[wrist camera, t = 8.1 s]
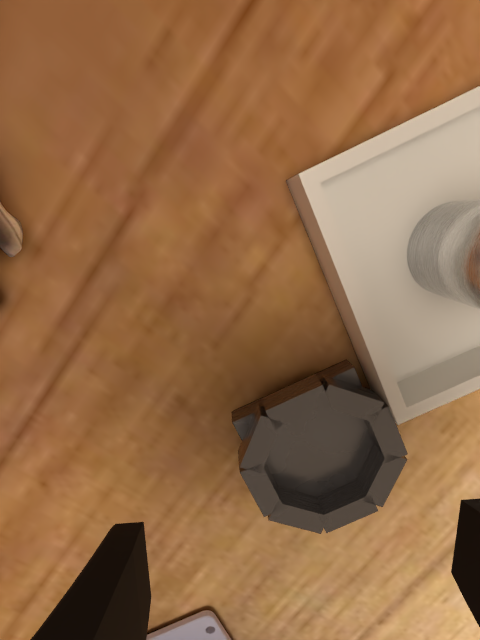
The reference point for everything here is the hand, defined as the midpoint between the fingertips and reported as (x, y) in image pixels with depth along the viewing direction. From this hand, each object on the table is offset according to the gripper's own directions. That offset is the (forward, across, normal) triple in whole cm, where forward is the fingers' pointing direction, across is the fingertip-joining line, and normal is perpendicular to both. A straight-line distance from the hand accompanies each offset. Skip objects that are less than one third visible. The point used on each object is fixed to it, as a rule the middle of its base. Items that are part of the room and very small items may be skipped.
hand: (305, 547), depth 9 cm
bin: (+10, -8, -6) cm, 14 cm away
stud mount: (+10, -3, +3) cm, 11 cm away
